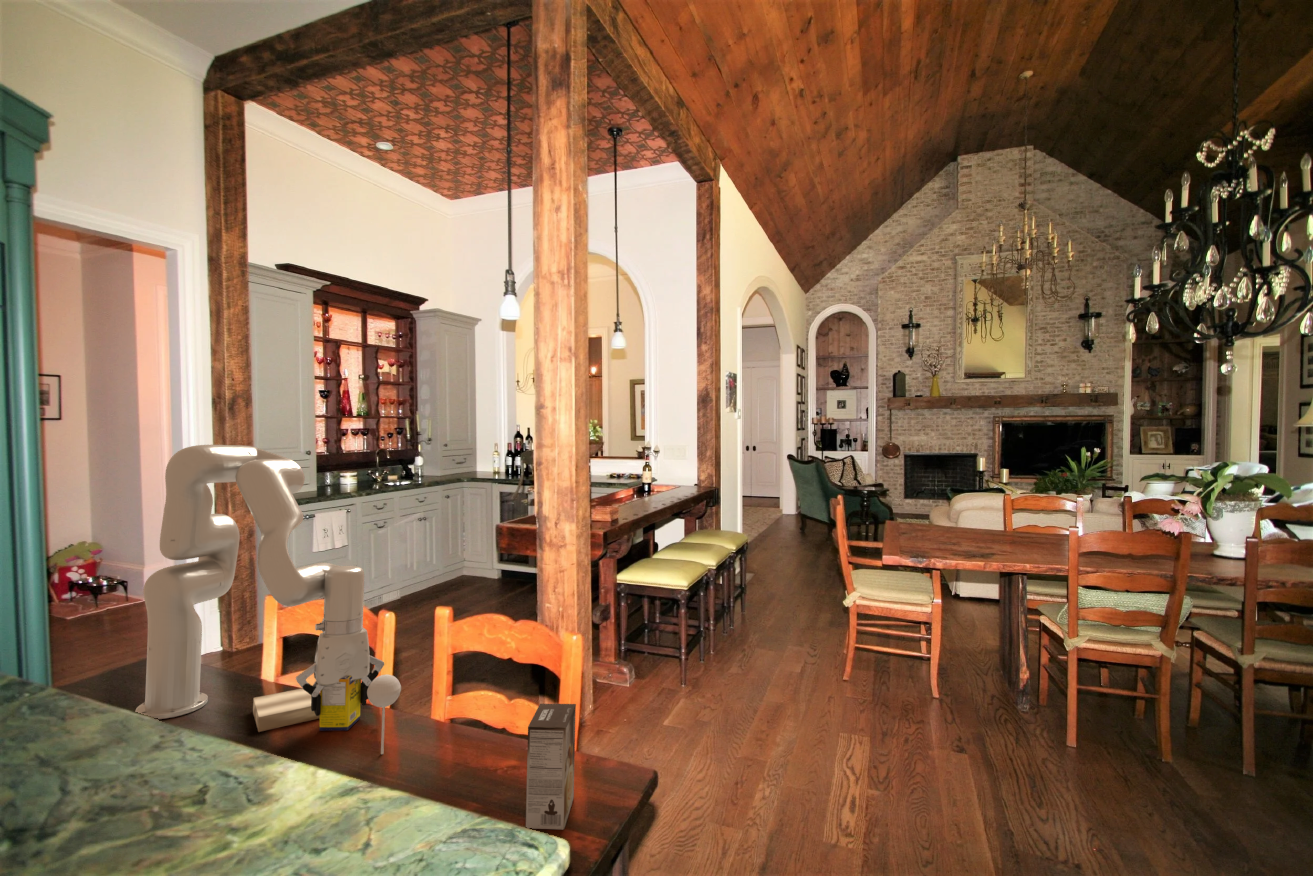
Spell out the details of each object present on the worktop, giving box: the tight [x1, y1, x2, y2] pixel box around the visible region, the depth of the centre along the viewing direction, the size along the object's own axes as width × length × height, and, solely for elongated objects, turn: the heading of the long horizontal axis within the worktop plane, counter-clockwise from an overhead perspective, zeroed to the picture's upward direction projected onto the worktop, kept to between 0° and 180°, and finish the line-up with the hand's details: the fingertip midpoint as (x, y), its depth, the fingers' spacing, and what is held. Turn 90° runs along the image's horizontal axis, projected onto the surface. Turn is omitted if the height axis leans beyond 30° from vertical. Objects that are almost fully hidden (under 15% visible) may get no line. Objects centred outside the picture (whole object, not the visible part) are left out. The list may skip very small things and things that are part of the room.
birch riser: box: [252, 687, 320, 733], centre depth 133 cm, size 12×12×3 cm
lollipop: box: [367, 674, 402, 755], centre depth 117 cm, size 6×6×15 cm
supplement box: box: [318, 676, 362, 732], centre depth 129 cm, size 6×6×11 cm
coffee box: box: [525, 703, 577, 830], centre depth 100 cm, size 9×6×16 cm
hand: (340, 708), depth 129 cm, fingers closed on supplement box, 8 cm apart
